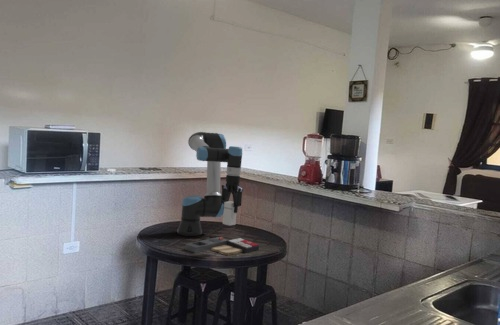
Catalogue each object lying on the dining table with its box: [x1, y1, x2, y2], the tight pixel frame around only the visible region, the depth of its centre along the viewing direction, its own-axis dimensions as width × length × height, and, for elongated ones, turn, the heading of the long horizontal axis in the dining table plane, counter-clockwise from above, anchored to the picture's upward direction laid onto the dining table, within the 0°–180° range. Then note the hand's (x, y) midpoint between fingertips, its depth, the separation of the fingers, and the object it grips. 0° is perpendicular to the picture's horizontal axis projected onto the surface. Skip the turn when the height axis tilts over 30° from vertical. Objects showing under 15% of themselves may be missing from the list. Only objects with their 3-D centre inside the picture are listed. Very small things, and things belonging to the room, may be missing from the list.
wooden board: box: [211, 245, 243, 256], centre depth 225 cm, size 12×12×1 cm
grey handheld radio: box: [184, 236, 229, 254], centre depth 230 cm, size 32×8×4 cm, turn 142°
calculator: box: [227, 237, 260, 254], centre depth 233 cm, size 11×4×15 cm
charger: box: [222, 200, 237, 226], centre depth 223 cm, size 5×5×12 cm
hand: (229, 217), depth 223 cm, fingers closed on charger, 5 cm apart
